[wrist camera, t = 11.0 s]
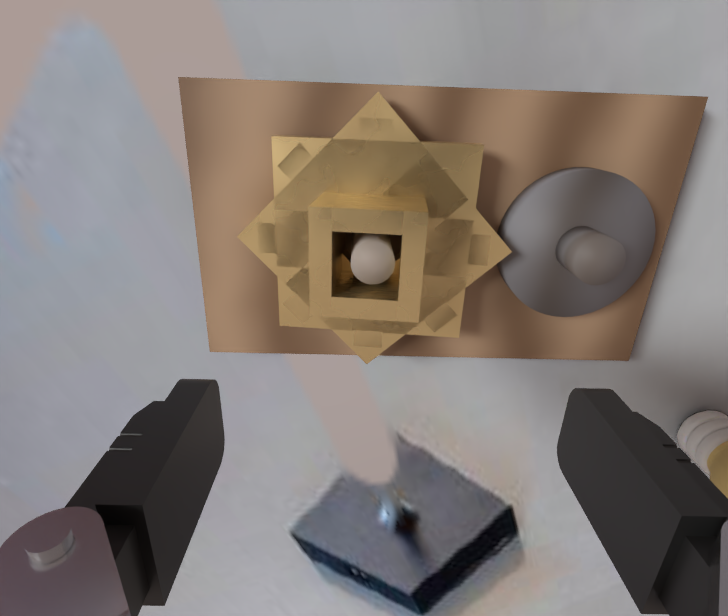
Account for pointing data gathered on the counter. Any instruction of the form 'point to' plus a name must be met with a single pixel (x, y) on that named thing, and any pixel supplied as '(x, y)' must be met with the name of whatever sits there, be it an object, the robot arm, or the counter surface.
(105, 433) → the counter surface
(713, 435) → the light bulb
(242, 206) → the wooden peg board
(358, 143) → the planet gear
